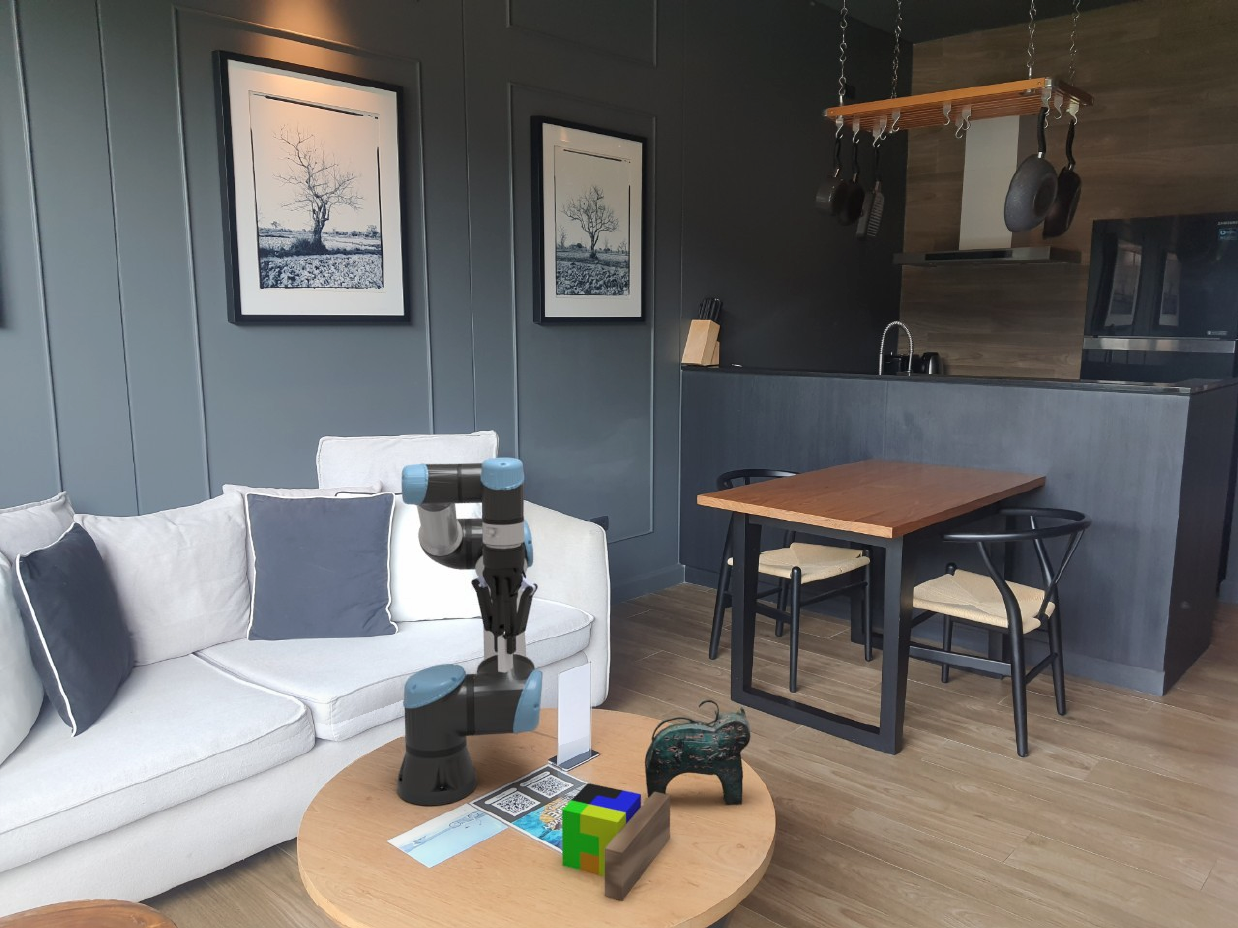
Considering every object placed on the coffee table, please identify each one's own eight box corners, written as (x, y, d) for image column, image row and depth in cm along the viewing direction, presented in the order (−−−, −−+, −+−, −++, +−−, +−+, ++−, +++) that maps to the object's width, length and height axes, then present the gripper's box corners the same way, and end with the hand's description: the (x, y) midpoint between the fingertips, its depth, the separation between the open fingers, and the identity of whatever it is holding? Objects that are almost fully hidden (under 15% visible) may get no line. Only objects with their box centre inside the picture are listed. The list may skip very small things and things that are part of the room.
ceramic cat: (746, 792, 177) (749, 693, 175) (752, 810, 171) (755, 707, 168) (643, 794, 177) (644, 694, 174) (646, 811, 170) (646, 708, 168)
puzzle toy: (640, 848, 158) (641, 793, 157) (617, 879, 149) (617, 822, 148) (588, 836, 162) (588, 782, 161) (562, 865, 153) (562, 809, 152)
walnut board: (604, 895, 145) (604, 848, 143) (654, 834, 163) (654, 791, 161) (622, 900, 143) (622, 852, 142) (669, 837, 161) (670, 794, 160)
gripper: (461, 544, 165) (464, 670, 169) (524, 552, 160) (525, 681, 163) (484, 536, 172) (486, 657, 175) (545, 543, 167) (546, 668, 170)
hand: (505, 669), depth 169 cm, fingers closed
